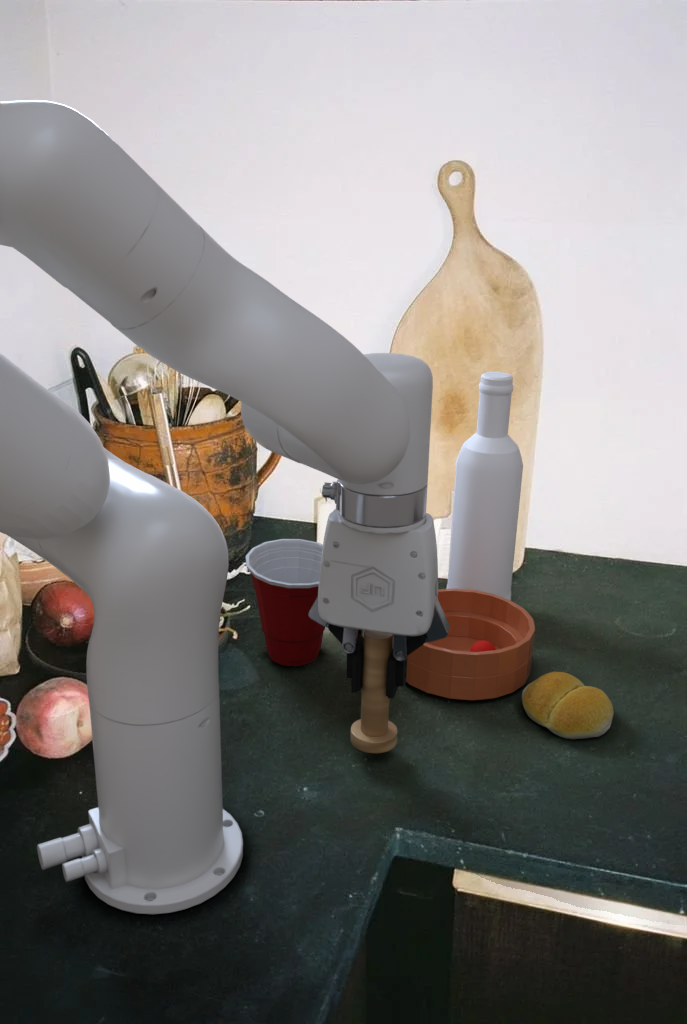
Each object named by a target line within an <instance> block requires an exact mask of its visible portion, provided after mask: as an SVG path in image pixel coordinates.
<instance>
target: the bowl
mask: <svg viewBox="0 0 687 1024" xmlns="http://www.w3.org/2000/svg"><path fill="white" fill-rule="evenodd" d="M438 601H439V603H440V605H441V607H442V610H443V612H444V614H445V616H446V619H447V621H448V623H449V625H450V630H449V633H448V636H447V637H446V638H443V639H439V640H436V641H432V642H426V643H424V644H423V645H422V646H421V647H419V648H418V649H416V650H415V651H414V652H412V653H411V654H409V655H408V656H407V677H406V682H405V683H407V684H408V685H409V686H412V687H414V688H416V689H418V690H421V691H422V692H425V693H426V694H430V695H434V696H438V697H442V698H446V699H449V700H462V701H480V700H490V699H498V698H500V697H503V696H506V695H509V694H513V693H514V692H516V691H518V690H519V689H520V688H521V687H523V686H524V685H526V683H527V681H528V679H529V677H530V674H531V673H532V663H533V654H534V644H535V634H536V626H535V620H534V618H533V617H532V616H531V614H530V613H529V612H528V611H527V610H526V608H524V607H522V606H521V605H519V604H517V603H516V602H514V601H513V600H512V599H511V600H508V599H505V598H503V597H500V596H497V595H495V594H491V593H486V592H481V591H477V590H467V589H446V588H441V589H440V588H438ZM481 640H485V641H489V642H490V643H492V644H493V645H494V646H495V648H496V650H493V651H482V652H470V649H471V647H472V645H473V644H474V643H476V642H477V641H481ZM392 649H393V644H392Z"/></svg>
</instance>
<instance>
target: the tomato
mask: <svg viewBox="0 0 687 1024" xmlns="http://www.w3.org/2000/svg"><path fill="white" fill-rule="evenodd" d="M493 650H496V648H495V646H494V645H493V644H492V643H490V642H489V641H485V640H481V641H477V642H476V643H474V644H473V645H472V647H471V649H470V652H482V651H493Z"/></svg>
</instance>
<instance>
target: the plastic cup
mask: <svg viewBox="0 0 687 1024" xmlns="http://www.w3.org/2000/svg"><path fill="white" fill-rule="evenodd" d="M322 548H323V543H321V542H317V541H314V540H313V541H312V540H308V539H307V540H306V539H302V538H280V539H274V540H269V541H268V540H267V541H264V542H262V543H260V544H258V545H256V546H254V547H252V548H251V549H250V550H249V551H248V552H247V554H246V555H245V566H246V569H247V570H248V571H249V573H250V576H251V581H252V583H253V590H254V591H255V596H256V602H257V607H258V613H259V619H260V624H261V631H262V633H263V636H264V641H265V647H266V652H267V654H268V658H269V659H270V660H271V661H272V662H274V663H276V664H279V665H281V666H287V667H299V666H300V667H302V666H304V665H308V664H310V663H312V662H313V661H315V660H316V659H317V658H318V656H319V653H320V650H321V647H322V642H323V636H324V631H325V630H326V628H327V627H326V626H325V627H324V626H322V625H321V624H319V623H317V622H316V621H314V620H312V619H311V618H310V617H309V615H308V613H309V611H310V609H311V607H312V606H313V604H314V602H315V600H316V599H317V597H318V588H319V577H320V566H321V556H322Z"/></svg>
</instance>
